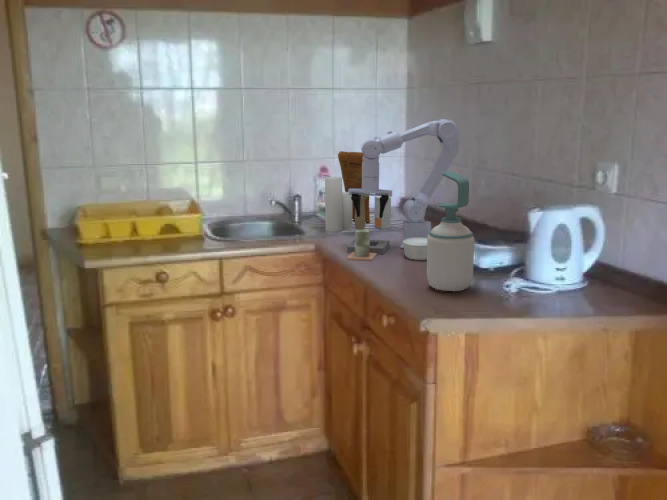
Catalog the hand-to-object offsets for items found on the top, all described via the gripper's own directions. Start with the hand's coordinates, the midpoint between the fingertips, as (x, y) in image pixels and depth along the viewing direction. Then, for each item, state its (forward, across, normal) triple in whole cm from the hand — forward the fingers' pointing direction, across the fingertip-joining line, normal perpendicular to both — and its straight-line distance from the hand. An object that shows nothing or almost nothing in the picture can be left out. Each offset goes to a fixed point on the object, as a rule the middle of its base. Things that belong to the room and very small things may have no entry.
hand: (369, 217), depth 231 cm
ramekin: (+10, -18, +10) cm, 23 cm away
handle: (+11, +8, -20) cm, 24 cm away
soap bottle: (+10, -30, +43) cm, 54 cm away
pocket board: (+10, 0, +3) cm, 11 cm away
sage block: (+10, 0, +14) cm, 17 cm away
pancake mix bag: (+11, +14, -46) cm, 50 cm away
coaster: (+10, 0, +14) cm, 18 cm away
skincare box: (+10, +2, -34) cm, 36 cm away
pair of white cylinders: (+11, +18, -27) cm, 34 cm away
